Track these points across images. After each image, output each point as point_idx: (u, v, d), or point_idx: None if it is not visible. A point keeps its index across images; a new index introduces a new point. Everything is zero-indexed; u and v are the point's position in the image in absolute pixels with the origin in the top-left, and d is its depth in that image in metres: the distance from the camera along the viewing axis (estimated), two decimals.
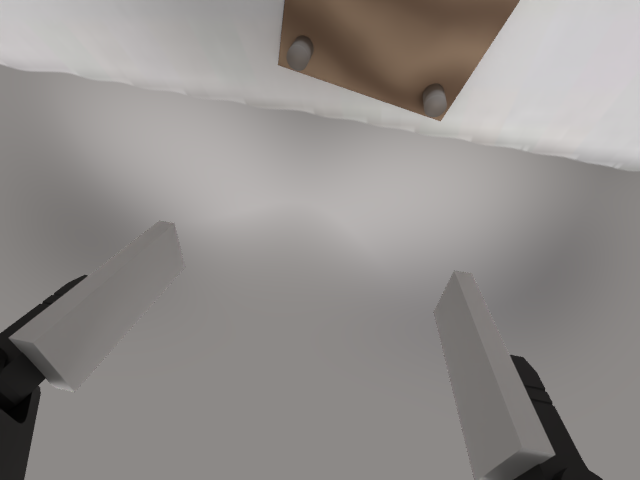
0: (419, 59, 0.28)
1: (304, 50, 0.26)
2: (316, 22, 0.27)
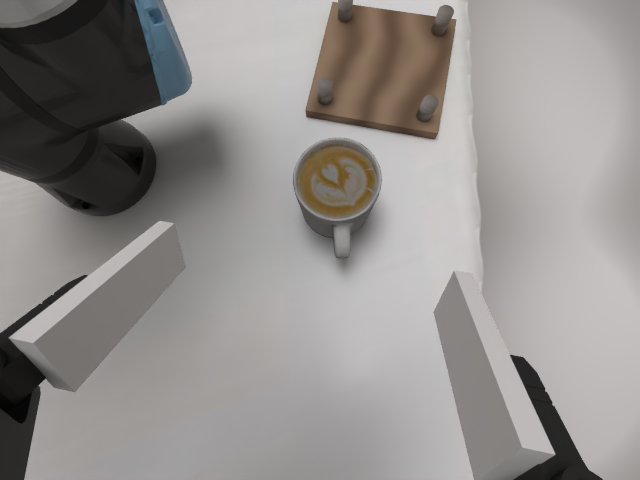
0: (418, 44, 0.42)
1: (424, 97, 0.38)
2: (407, 107, 0.41)
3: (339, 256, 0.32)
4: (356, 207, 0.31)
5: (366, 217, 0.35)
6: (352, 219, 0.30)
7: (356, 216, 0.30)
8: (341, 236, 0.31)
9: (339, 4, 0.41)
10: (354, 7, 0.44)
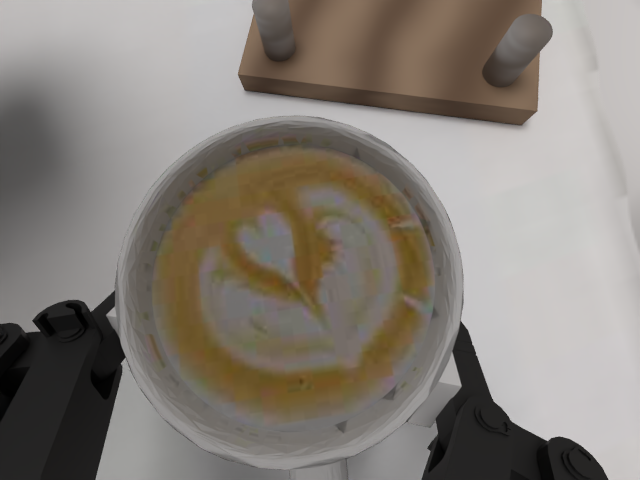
0: None
1: (513, 21, 0.15)
2: (461, 57, 0.18)
3: None
4: (366, 376, 0.08)
5: None
6: None
7: (370, 443, 0.07)
8: None
9: None
10: None
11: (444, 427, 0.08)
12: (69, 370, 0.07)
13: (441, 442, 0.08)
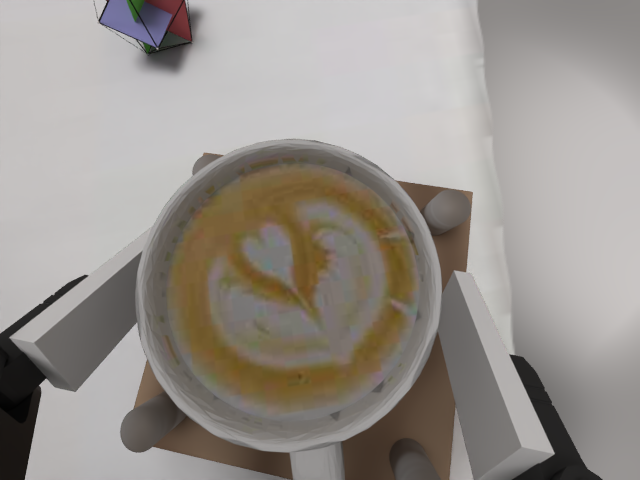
0: None
1: (406, 476, 0.14)
2: (368, 433, 0.17)
3: None
4: (357, 371, 0.09)
5: None
6: None
7: (359, 429, 0.08)
8: (311, 468, 0.09)
9: None
10: None
11: None
12: None
13: None
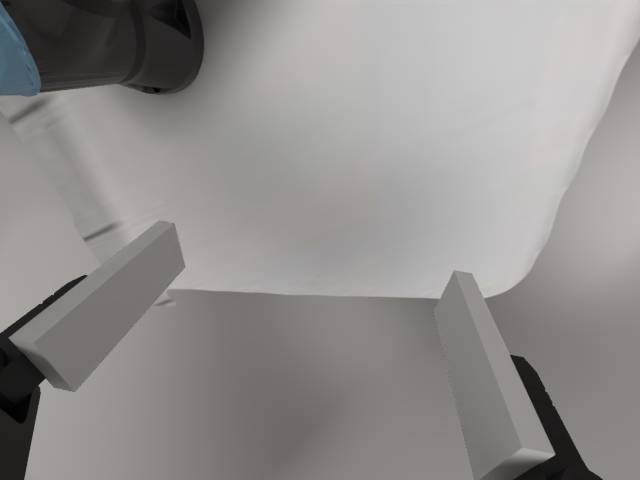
0: None
1: None
2: None
3: None
4: None
5: None
6: None
7: None
8: None
9: None
10: None
11: None
12: None
13: None
